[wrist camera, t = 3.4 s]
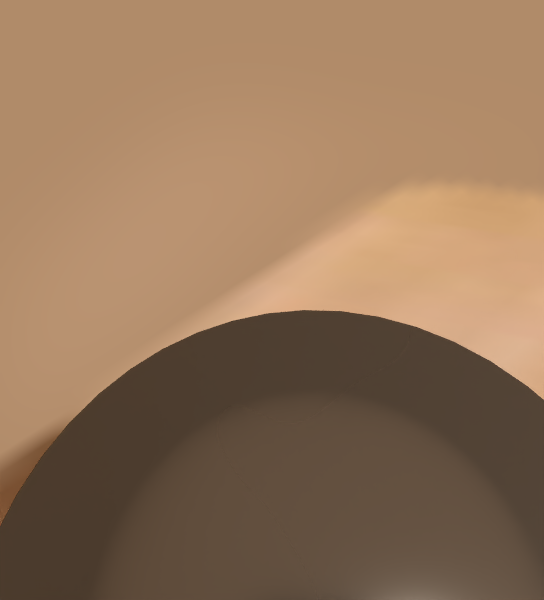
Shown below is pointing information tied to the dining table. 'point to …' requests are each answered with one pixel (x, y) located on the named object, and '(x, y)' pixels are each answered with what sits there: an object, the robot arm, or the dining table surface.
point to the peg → (290, 473)
